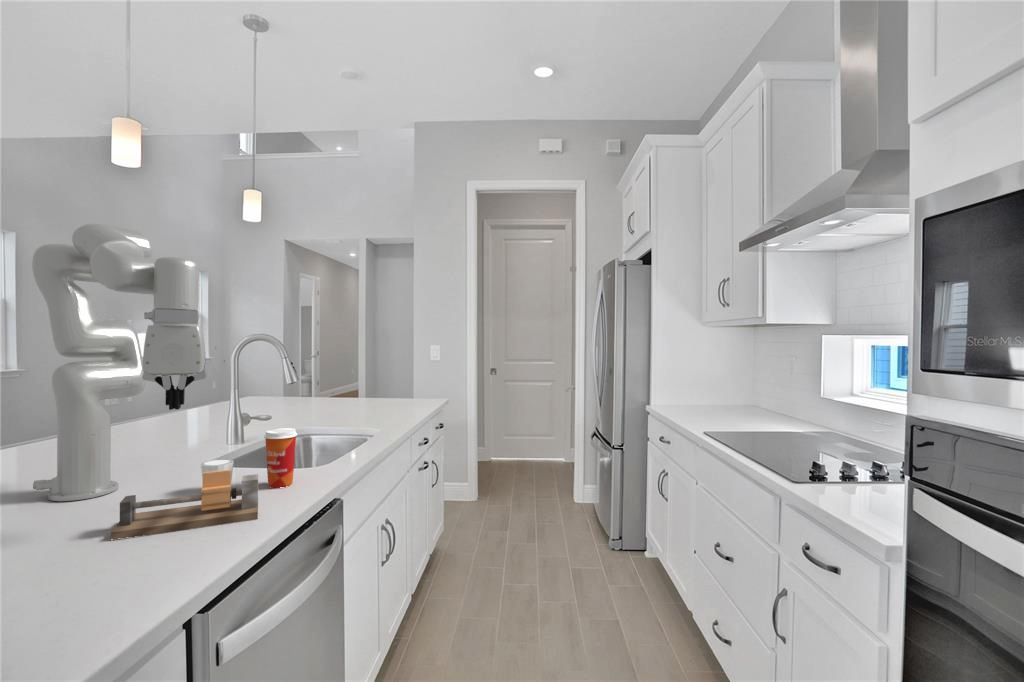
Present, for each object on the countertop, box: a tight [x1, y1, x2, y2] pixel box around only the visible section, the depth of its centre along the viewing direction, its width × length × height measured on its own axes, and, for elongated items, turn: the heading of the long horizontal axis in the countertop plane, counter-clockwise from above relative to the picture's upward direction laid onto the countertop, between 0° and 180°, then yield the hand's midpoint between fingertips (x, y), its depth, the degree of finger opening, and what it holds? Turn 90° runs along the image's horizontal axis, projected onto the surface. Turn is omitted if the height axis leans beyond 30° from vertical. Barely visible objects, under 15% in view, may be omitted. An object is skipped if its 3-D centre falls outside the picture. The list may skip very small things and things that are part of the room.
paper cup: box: [263, 427, 298, 489], centre depth 122 cm, size 8×8×14 cm
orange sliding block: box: [200, 469, 232, 511], centre depth 100 cm, size 5×4×7 cm
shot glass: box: [200, 458, 234, 482], centre depth 117 cm, size 7×7×7 cm
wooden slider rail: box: [110, 473, 259, 540], centre depth 98 cm, size 24×10×8 cm, turn 118°
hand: (175, 408), depth 97 cm, fingers closed
